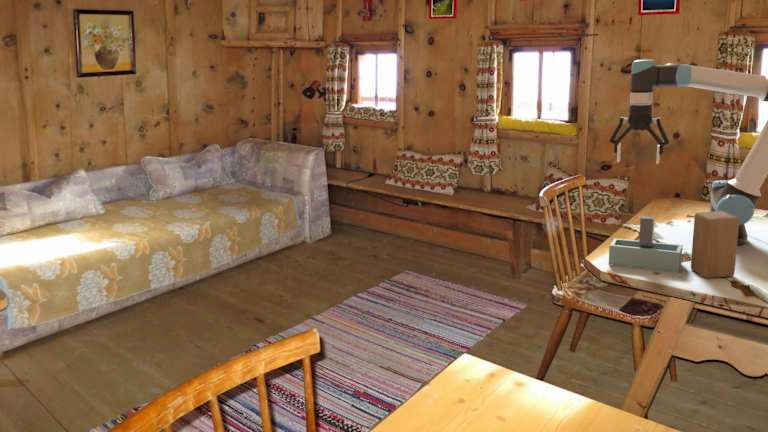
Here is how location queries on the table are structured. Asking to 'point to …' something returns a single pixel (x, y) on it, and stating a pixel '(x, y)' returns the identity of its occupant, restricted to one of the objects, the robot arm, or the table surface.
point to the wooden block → (714, 244)
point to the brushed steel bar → (646, 231)
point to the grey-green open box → (646, 255)
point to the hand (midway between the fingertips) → (637, 162)
